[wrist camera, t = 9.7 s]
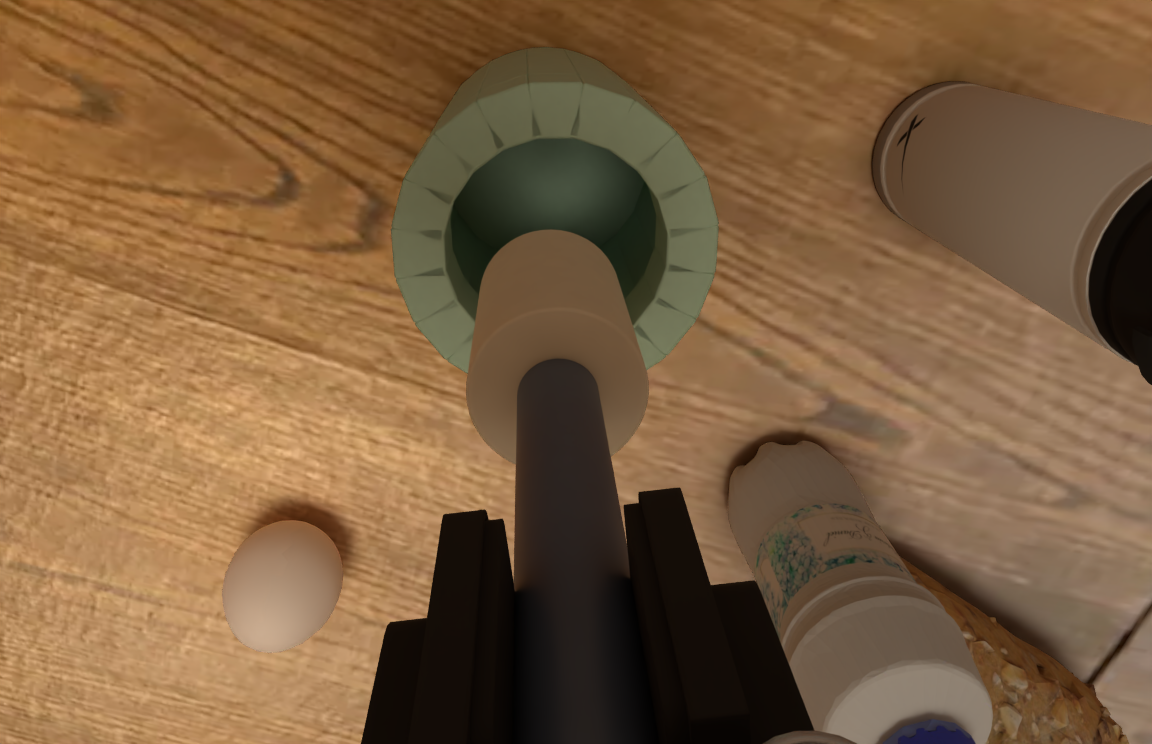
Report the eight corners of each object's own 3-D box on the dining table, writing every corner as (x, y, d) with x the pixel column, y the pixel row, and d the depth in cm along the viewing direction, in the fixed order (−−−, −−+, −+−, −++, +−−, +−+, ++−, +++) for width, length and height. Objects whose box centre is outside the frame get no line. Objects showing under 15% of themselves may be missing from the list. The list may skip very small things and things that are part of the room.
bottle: (869, 447, 46) (1104, 762, 27) (808, 553, 48) (986, 909, 30) (750, 406, 44) (912, 708, 26) (693, 517, 47) (805, 866, 28)
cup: (389, 138, 38) (322, 218, 25) (569, -2, 36) (595, 7, 24) (524, 307, 42) (524, 453, 29) (695, 185, 40) (777, 283, 27)
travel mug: (842, 128, 39) (1123, 259, 21) (987, 53, 38) (1414, 120, 20) (891, 252, 41) (1181, 468, 23) (1028, 184, 41) (1445, 352, 22)
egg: (234, 565, 46) (185, 665, 40) (264, 481, 44) (217, 571, 38) (335, 596, 47) (304, 698, 41) (367, 515, 46) (340, 609, 39)
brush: (451, 283, 23) (262, 1050, 6) (565, 200, 22) (683, 817, 6) (535, 386, 24) (559, 1249, 8) (646, 310, 24) (933, 1078, 7)
